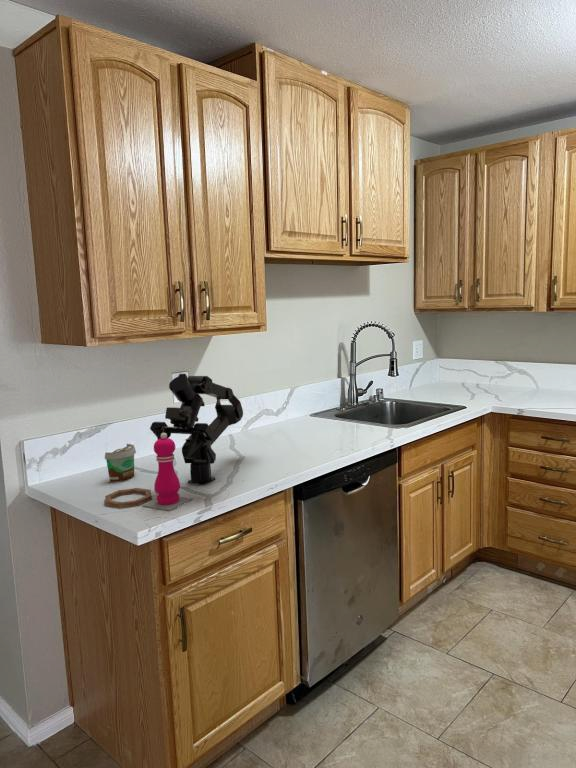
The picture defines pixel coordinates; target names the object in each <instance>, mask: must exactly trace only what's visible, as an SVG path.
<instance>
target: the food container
mask: <svg viewBox="0 0 576 768" xmlns="http://www.w3.org/2000/svg"><path fill="white" fill-rule="evenodd" d="M136 453H137V450H136V447H135V445H134V444H131V443H126V446H125V447H122V448H117V449H115V450H114V451H112V452H105V453H104V460H106V465H107V473H108V479H109V482H110V483H117V482H125V481H129V480H132V479H133V478H134V477H135V455H136ZM131 478H132V479H131Z"/></svg>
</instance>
